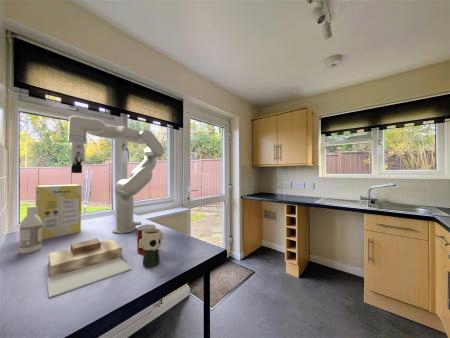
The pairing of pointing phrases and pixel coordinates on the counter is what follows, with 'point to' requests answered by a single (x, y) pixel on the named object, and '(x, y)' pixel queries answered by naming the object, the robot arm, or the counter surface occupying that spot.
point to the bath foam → (30, 232)
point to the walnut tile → (85, 246)
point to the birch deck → (82, 258)
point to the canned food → (140, 230)
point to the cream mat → (85, 276)
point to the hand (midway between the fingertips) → (76, 173)
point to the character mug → (151, 246)
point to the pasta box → (59, 209)
